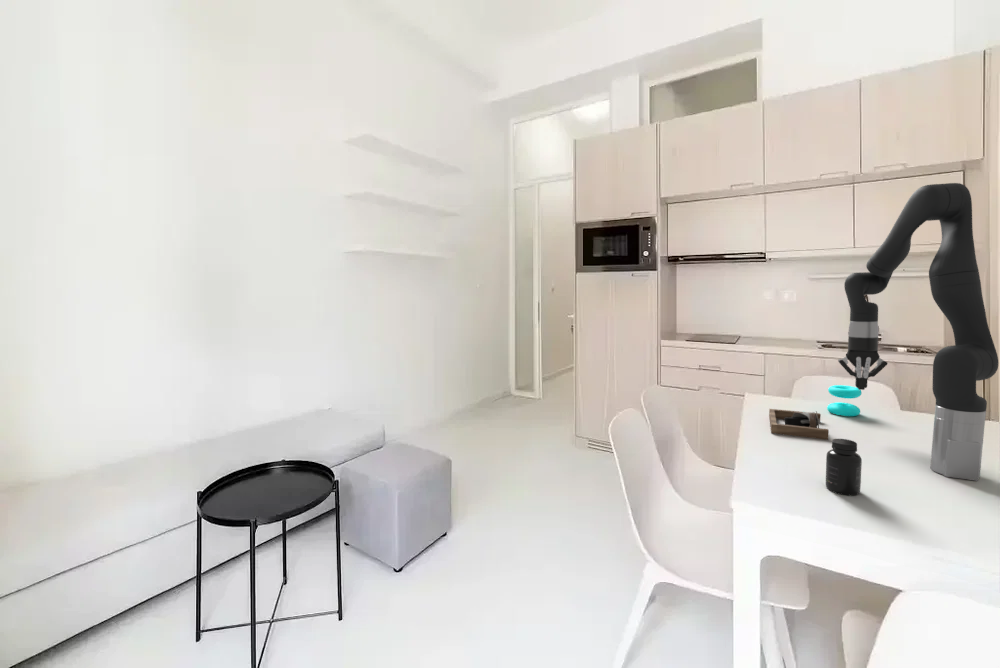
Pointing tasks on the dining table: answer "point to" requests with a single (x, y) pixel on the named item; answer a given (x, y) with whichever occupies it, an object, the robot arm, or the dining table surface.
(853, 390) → the donuts
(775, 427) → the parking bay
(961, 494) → the dining table surface
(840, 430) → the dining table surface
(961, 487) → the dining table surface
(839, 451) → the supplement bottle
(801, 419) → the caster wheel
